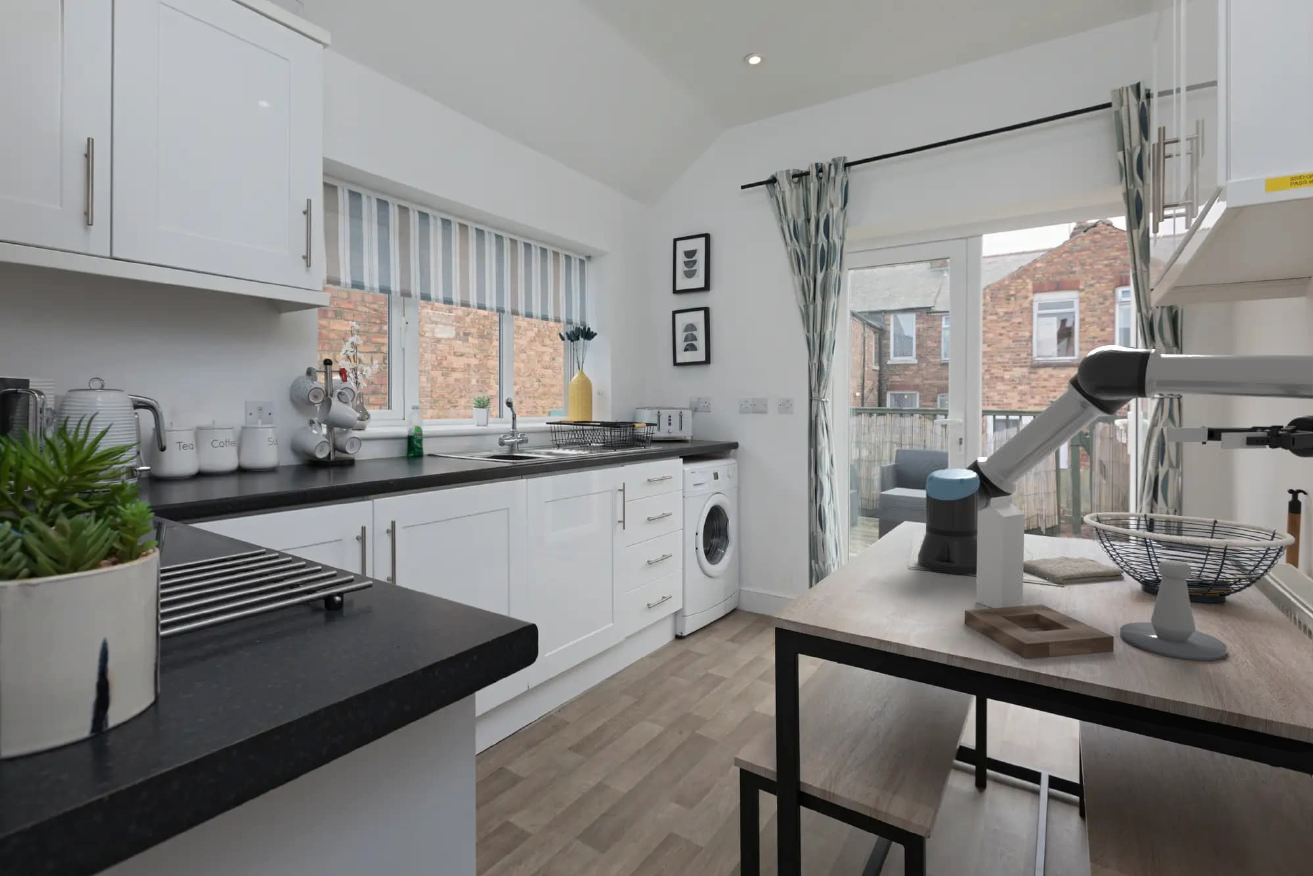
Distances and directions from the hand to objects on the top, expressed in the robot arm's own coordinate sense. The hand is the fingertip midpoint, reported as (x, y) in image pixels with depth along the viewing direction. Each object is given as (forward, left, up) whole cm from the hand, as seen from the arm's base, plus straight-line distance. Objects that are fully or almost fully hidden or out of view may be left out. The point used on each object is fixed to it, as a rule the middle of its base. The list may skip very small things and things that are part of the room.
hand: (1194, 437), depth 116 cm
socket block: (+2, -33, -34) cm, 47 cm away
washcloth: (-30, +2, -35) cm, 46 cm away
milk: (-14, -28, -34) cm, 46 cm away
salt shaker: (+9, -13, -33) cm, 37 cm away
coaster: (+9, -13, -34) cm, 37 cm away
